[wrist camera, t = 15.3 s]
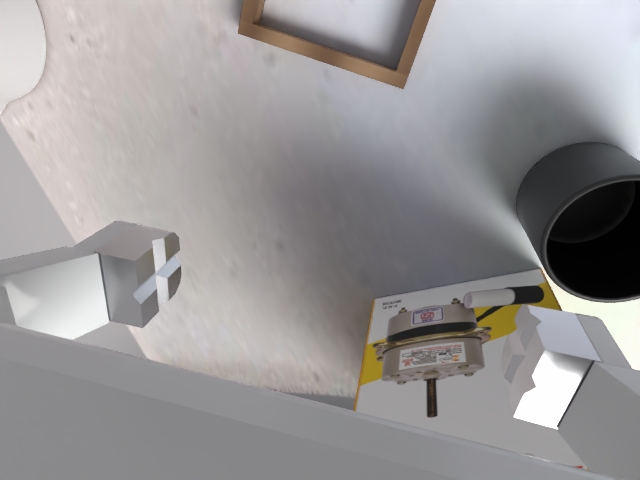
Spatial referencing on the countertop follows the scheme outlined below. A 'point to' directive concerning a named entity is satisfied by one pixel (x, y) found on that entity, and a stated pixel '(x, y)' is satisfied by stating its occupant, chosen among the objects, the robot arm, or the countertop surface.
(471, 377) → the packaging box
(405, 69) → the holder
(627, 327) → the countertop surface
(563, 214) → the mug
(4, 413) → the robot arm
